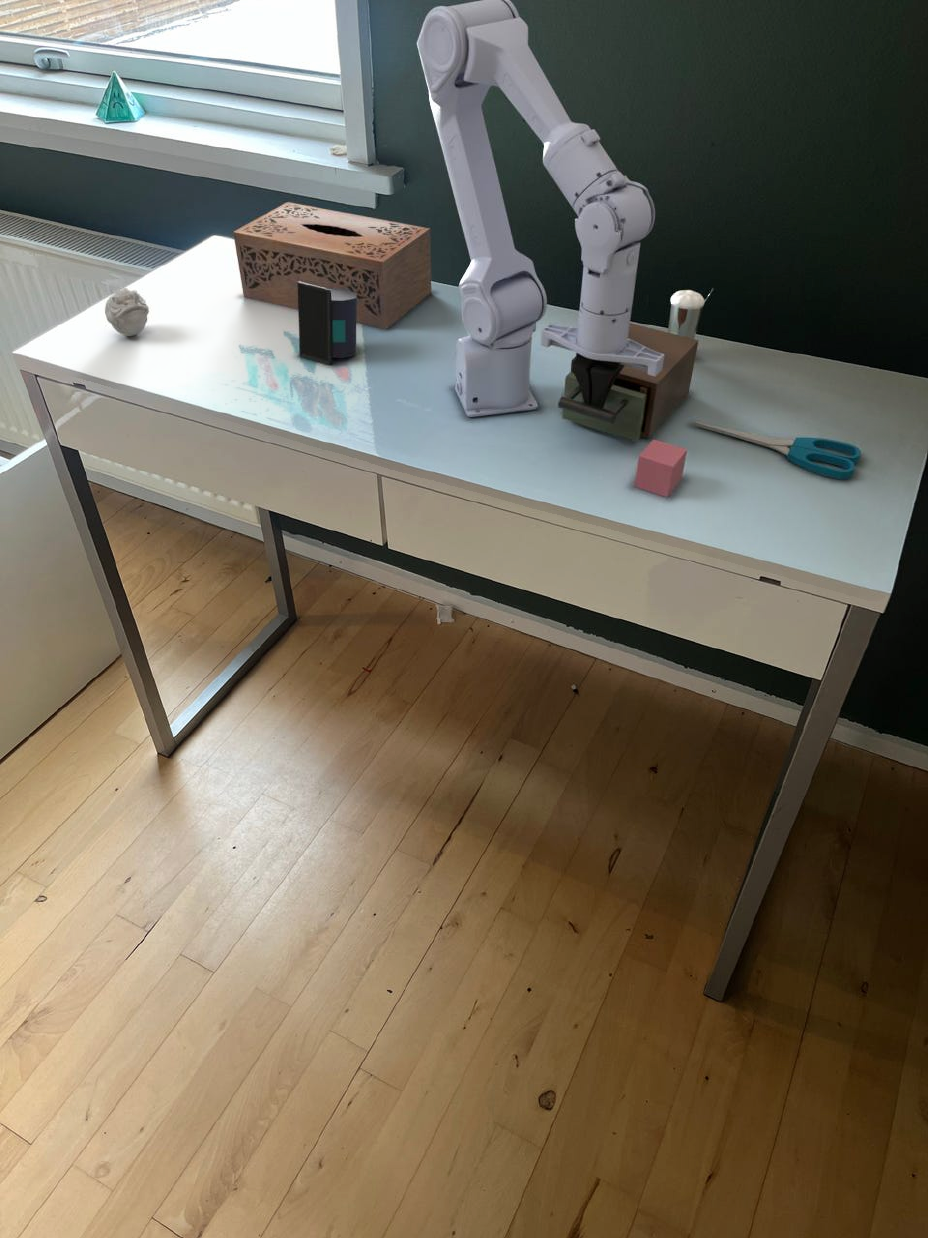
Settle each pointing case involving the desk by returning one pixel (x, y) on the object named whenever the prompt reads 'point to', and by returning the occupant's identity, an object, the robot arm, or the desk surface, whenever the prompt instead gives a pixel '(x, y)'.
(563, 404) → the drawer
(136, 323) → the frog figurine
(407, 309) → the tissue box cover
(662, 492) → the block
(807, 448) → the scissors
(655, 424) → the cabinet
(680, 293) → the milkshake
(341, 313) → the speaker
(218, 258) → the desk surface
